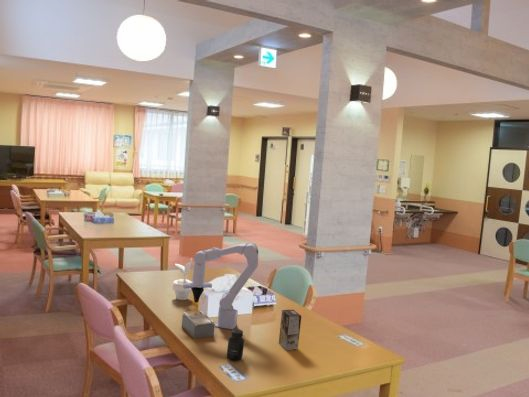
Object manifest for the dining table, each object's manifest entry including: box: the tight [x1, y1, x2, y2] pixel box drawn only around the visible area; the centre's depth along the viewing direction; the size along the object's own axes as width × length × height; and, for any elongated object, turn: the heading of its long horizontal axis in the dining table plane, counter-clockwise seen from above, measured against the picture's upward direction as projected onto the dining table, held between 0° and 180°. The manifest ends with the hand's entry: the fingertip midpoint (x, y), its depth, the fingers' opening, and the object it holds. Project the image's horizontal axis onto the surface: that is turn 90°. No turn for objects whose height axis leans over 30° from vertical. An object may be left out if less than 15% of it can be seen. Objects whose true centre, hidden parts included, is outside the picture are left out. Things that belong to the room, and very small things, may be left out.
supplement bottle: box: [226, 328, 245, 362], centre depth 208 cm, size 7×7×12 cm
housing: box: [181, 310, 216, 339], centre depth 235 cm, size 16×10×7 cm, turn 30°
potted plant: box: [172, 256, 194, 301], centre depth 282 cm, size 13×12×25 cm
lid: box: [192, 313, 212, 325], centre depth 231 cm, size 7×7×2 cm
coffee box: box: [278, 309, 302, 351], centre depth 227 cm, size 9×6×16 cm
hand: (196, 301), depth 246 cm, fingers closed
